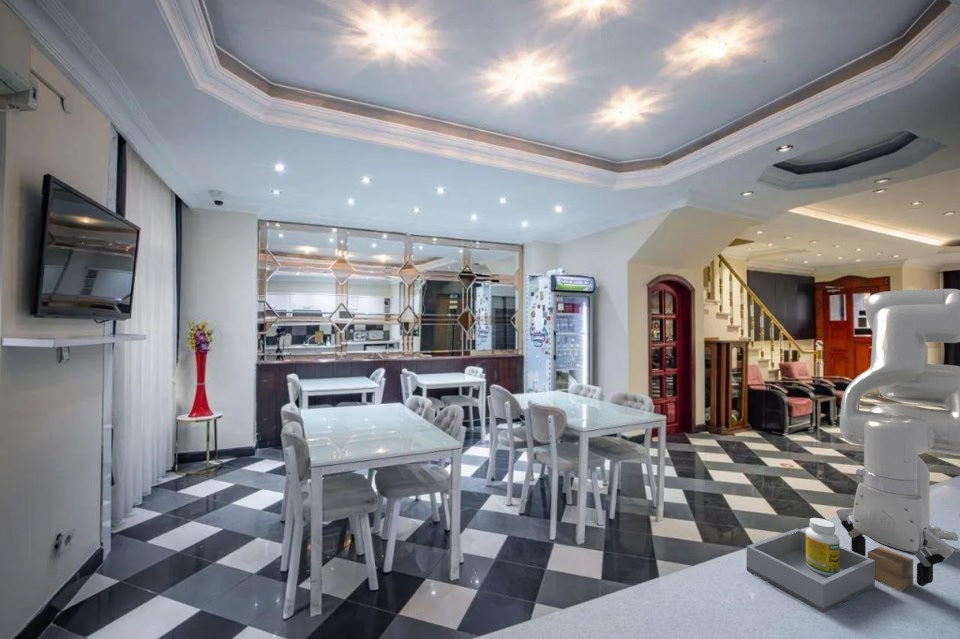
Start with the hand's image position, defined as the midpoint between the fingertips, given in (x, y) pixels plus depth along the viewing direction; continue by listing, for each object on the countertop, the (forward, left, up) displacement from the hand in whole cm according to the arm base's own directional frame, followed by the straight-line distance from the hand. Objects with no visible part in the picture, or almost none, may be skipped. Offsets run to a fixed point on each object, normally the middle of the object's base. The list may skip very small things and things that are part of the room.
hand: (889, 569), depth 82 cm
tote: (+15, +3, -2) cm, 16 cm away
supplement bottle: (+12, +1, -2) cm, 12 cm away
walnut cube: (0, 0, -2) cm, 2 cm away
